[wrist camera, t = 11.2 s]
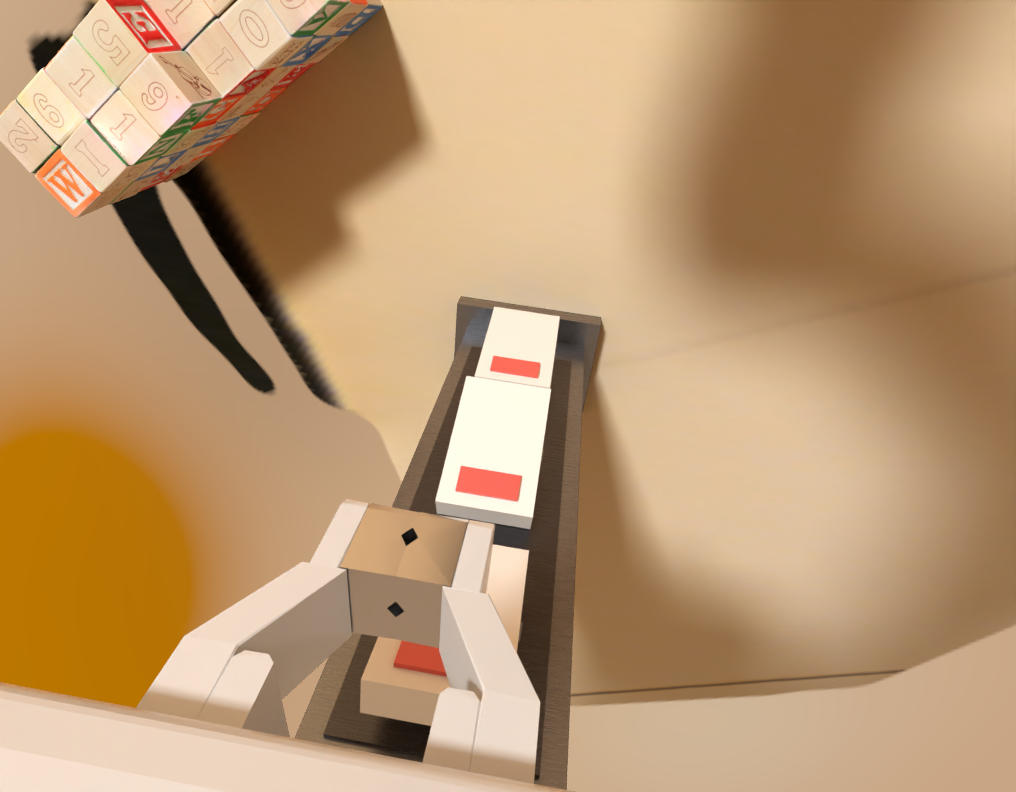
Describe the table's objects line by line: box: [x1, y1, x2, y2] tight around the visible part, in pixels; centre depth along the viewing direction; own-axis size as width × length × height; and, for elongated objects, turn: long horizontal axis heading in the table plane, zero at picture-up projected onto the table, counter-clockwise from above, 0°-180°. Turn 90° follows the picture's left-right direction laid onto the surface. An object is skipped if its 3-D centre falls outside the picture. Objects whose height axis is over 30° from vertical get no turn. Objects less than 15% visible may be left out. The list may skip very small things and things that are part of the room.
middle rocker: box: [435, 376, 551, 529], centre depth 32 cm, size 2×5×8 cm, turn 84°
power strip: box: [295, 296, 601, 790], centre depth 35 cm, size 10×12×40 cm
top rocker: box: [360, 544, 529, 726], centre depth 23 cm, size 2×5×8 cm, turn 84°
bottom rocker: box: [475, 307, 560, 389], centre depth 41 cm, size 2×5×8 cm, turn 84°
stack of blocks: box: [0, 0, 383, 218], centre depth 36 cm, size 21×6×12 cm, turn 122°
